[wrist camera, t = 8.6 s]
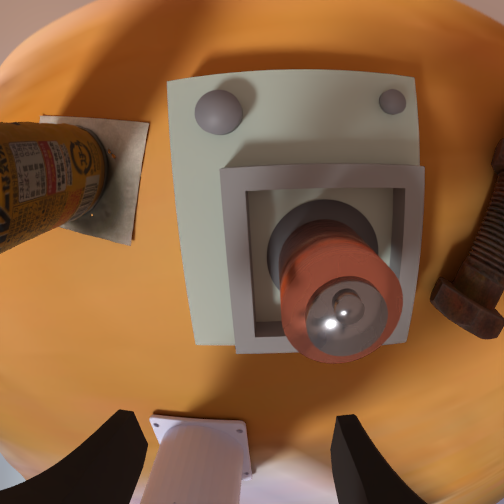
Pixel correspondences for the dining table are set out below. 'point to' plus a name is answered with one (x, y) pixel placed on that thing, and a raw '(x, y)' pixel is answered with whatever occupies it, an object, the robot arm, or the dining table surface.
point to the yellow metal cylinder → (69, 177)
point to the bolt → (479, 271)
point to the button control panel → (288, 186)
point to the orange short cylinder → (336, 293)
